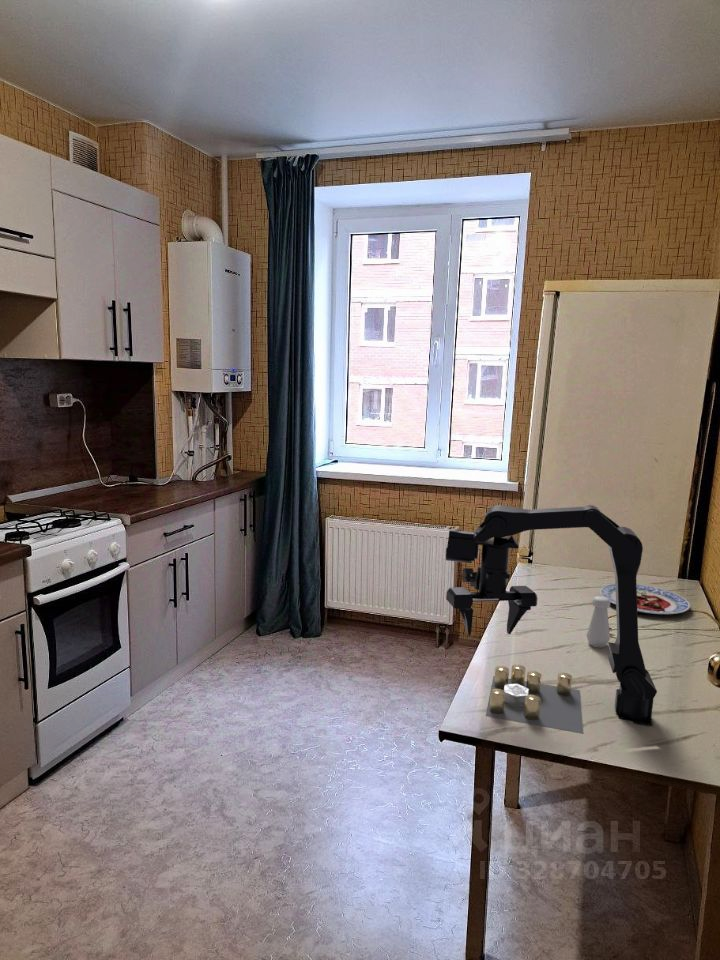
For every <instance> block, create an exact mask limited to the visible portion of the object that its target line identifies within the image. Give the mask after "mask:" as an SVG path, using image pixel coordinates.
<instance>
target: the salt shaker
mask: <svg viewBox="0 0 720 960" xmlns="http://www.w3.org/2000/svg"><path fill="white" fill-rule="evenodd" d="M592 606H594V609H593V612H592V616H591V618H590V622H589V623H588V628H587V631H586V637H587V641H588V644H589V645H590V646H592V647H594V648H600V649H603V648H605V647H606V646H607V645H608V642H610V639H611V633H610V623H609V615H608V614H609V612H608V611H609V610H608V609H609V608H610V607H611V602H610V600H609V599H608V598H606V597H602V595H599V596H598V595H597V596H594V597H593V598H592Z"/></svg>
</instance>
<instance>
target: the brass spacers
mask: <svg viewBox="0 0 720 960" xmlns="http://www.w3.org/2000/svg"><path fill="white" fill-rule="evenodd" d="M509 673H510V668H509V667H507V666H506V665H505V666H504V665H497V666H495V670H494V676H495V681H494V686H495V687H497V688H500V689H492V690H491V689H490V691H491V695H490V694H489V696H490V711H491V712H492V713H495V714H502V713H504V707H505V692H504V691H503V690H501V689H504V688H505V685H508V678H509V675H510V679H511V684H519V685H521V686H524V681H527V685H526V688H528V693H530V694H539V693H540V687H541V684H542V673H540V672H539V671H537V670H530V671H528V672H527V675H526V666H524V665H522V664H513V665H512V666H511V673H510V674H509ZM525 678H526V679H525ZM572 683H573V676H572V674H570V673H566V672H559V673H558V674H557V683H556V686H557V693H558V694H559V695H561V696H570V695H571V689H572ZM539 711H540V698H539V697H538V696H536V695H526V697H525V708H524V717H525V718H527V719H529V720H538V719H539Z"/></svg>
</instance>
